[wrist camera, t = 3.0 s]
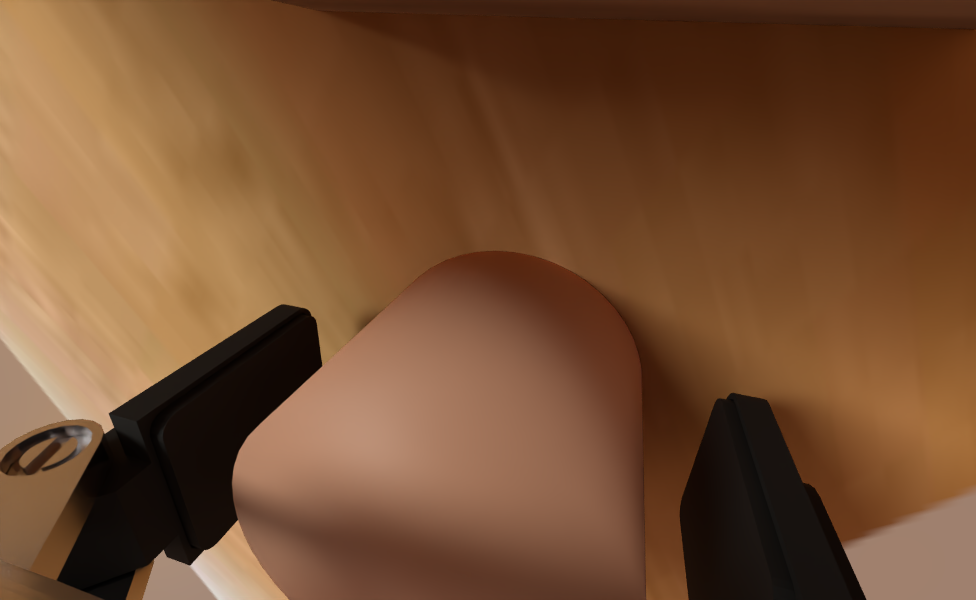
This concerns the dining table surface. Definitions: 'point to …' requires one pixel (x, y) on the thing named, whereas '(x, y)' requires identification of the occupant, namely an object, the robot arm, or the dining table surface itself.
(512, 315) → the peach rounded cylinder
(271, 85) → the dining table surface
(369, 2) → the walnut base block
